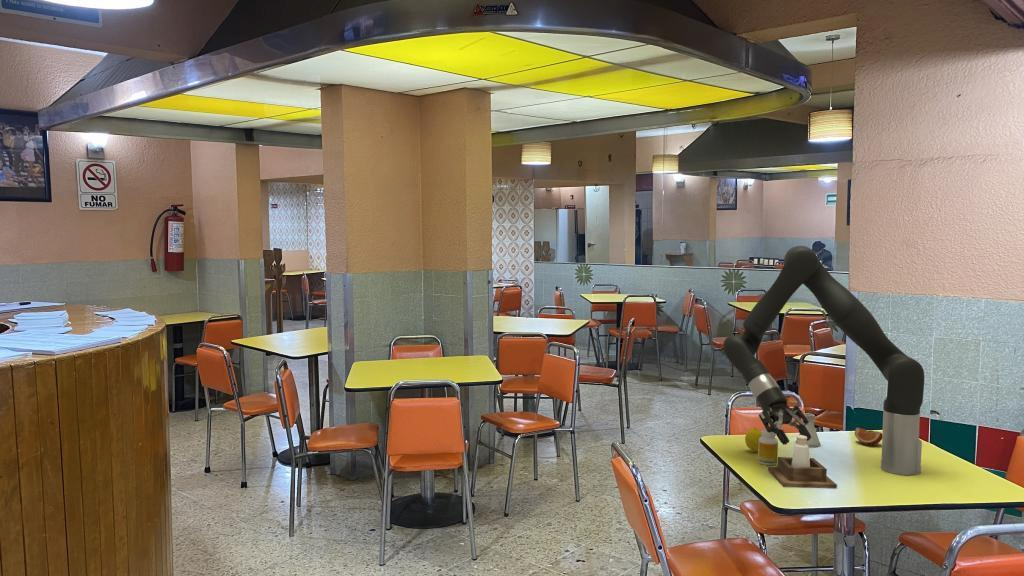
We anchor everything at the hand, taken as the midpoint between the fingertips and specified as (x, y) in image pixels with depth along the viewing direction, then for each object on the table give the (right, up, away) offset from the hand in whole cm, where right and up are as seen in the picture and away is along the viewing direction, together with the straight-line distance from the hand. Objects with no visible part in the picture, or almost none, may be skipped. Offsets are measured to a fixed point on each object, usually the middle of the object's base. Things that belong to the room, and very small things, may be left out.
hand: (797, 441), depth 197 cm
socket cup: (+1, -10, -1) cm, 10 cm away
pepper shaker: (+1, -9, -1) cm, 10 cm away
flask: (+17, -8, +33) cm, 38 cm away
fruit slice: (+37, -9, +34) cm, 51 cm away
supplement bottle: (-3, -9, +14) cm, 17 cm away
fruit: (-4, -9, +25) cm, 26 cm away
